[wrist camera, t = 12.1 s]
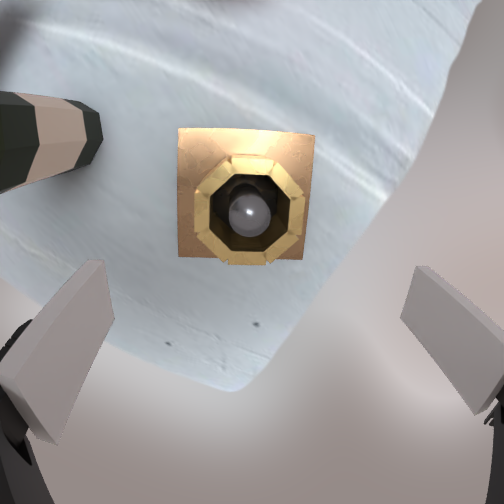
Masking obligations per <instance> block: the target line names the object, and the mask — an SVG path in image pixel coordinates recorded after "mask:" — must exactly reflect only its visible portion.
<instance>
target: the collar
mask: <svg viewBox="0 0 504 504" xmlns="http://www.w3.org/2000/svg"><path fill="white" fill-rule="evenodd" d="M234 174H255V175H268V177H269V178H270V179H271V180H272V181H273V182H274V183H275V184H276V186H277V187H278V199H277V212H276V214H275V215H274V216H273V217H272V218H271V219H270V223H269V226H268V227H267V229H266V230H265V231H264V232H263V233H261V234H259V235H257V236H254V237H245V236H242V235H239V234H238V233H236V232H235V231H234V230H231V229H230V228H229V227H228V226H227V225H226V224H225V223H224V222H223V221H222V220H221V219H220V218H219V217H218V216H217V215H216V214H215V213H214V212H213V193H214V192H215V191H216V190H217V189H218V188H220V187H221V186H222V185H223V184H224V183H225V182H226V181H227V180H228V179H229V178H230V177H232V176H233V175H234ZM303 193H304V192H303V191H302V190H301V189H300V187H299V186H298V185H297V184H296V183H295V181H294V180H293V179H292V178H291V177H290V176H289V174H288V173H287V172H286V171H285V170H284V169H283V168H282V166H281V165H280V164H279V163H278V162H276V161H274V160H272V159H270V158H267V157H265V156H253V155H231V160H230V158H229V157H228V156H227V157H226V158H224V159H223V160H222V161H221V162H220V163H219V164H218V165H217V166H216V167H215V168H214V169H213V170H211V171H210V172H209V173H208V174H207V175H206V176H205V177H204V178H203V179H202V181H201V182H200V184H199V185H198V187H197V190H196V191H195V193H194V232H198V233H197V236H196V237H197V238H198V239H199V240H200V241H202V242H203V243H204V244H205V245H206V246H207V247H208V248H209V249H210V250H211V251H212V252H213V253H214V254H215V255H216V256H217V257H218V258H219V259H220V260H221V261H222V262H223V263H224V262H225V261H226V260H227V259H228V264H229V265H266V260H267V261H268V262H269V263H272V262H273V261H274V260H275V259H276V258H278V257H279V256H280V255H281V254H282V253H283V252H285V251H286V250H287V249H288V248H289V247H291V246H292V245H293V244H294V243H295V242H296V241H298V240H299V238H298V237H297V236H296V235H301V234H302V225H303V216H304V206H305V197H304V196H303V195H302V194H303Z"/></svg>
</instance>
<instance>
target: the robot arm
mask: <svg viewBox="0 0 504 504" xmlns="http://www.w3.org/2000/svg"><path fill="white" fill-rule="evenodd" d="M400 318H401V320H402V321H403V322H404V323H405V324H406V326H407V327H408V328H409V329H410V331H411V332H412V333H413V334H414V335H415V336H416V338H417V339H418V340H419V342H420V343H421V344H422V345H423V347H424V348H425V349H426V350H427V352H428V353H429V354H430V356H431V357H432V358H433V359H434V361H435V362H436V363H437V365H438V366H439V367H440V368H441V370H442V371H443V372H444V374H445V375H446V376H447V378H448V379H449V380H450V382H451V383H452V384H453V386H454V387H455V389H456V390H457V391H458V393H459V394H460V395H461V397H462V398H463V400H464V401H465V403H466V404H467V405H468V407H469V408H470V410H471V411H472V412H473V414H474V415H477V414H479V413H481V412H483V411H485V410H487V408H488V407H489V406H490V404H491V403H492V402H493V400H494V399H495V397H496V398H497V400H498V401H499V402H498V403H497V405H496V406H495V407H494V409H493V410H492V411H491V413H490V414H489V415H488V416H487V418H486V419H485V421H484V424H486V423H487V422H488V421H489V420H490V419H491V418H493V420H492V421H491V422H490V423H489V425H490V426H494V438H493V454H492V464H491V474H490V481H489V487H488V493H487V498H486V503H485V504H504V330H503V329H502V328H501V327H500V326H499V325H497V324H496V323H495V322H494V321H493V320H492V319H491V318H490V317H489V316H487V315H486V314H485V313H484V312H483V311H482V310H481V309H479V308H478V307H477V306H476V305H475V304H474V303H473V302H472V301H470V300H469V299H468V298H467V297H466V296H465V295H463V294H462V293H461V292H460V291H459V290H457V289H456V288H455V287H454V286H452V285H451V284H450V283H449V282H447V281H446V280H445V279H444V278H442V277H441V276H440V275H439V274H437V273H436V272H435V271H434V270H432V269H431V268H430V267H428V266H416V267H415V271H414V274H413V278H412V281H411V285H410V288H409V292H408V295H407V298H406V301H405V304H404V307H403V310H402V313H401V316H400ZM114 319H115V318H114V313H113V309H112V303H111V298H110V293H109V287H108V282H107V275H106V269H105V262H104V260H87V261H86V262H85V263H84V264H83V265H82V266H81V267H80V268H79V269H78V270H77V271H76V272H75V273H74V274H73V275H72V276H71V278H70V279H69V280H68V281H67V282H66V283H65V284H64V285H63V286H62V287H61V288H60V289H59V291H58V292H57V293H56V294H55V295H54V296H53V297H52V298H51V299H50V301H49V302H48V303H47V304H46V305H45V306H44V307H43V309H42V310H41V311H40V312H39V314H38V315H37V316H36V317H35V318H34V319H33V320H32V319H30V320H28V321H27V322H26V323H24V324H23V325H21V326H20V327H19V328H18V329H17V330H16V331H15V332H14V334H13V335H12V336H11V339H9V340H8V341H7V343H6V344H5V347H2V349H1V350H0V504H54V502H53V499H52V497H51V495H50V493H49V491H48V489H47V486H46V484H45V482H44V479H43V477H42V475H41V472H40V470H39V467H38V464H37V462H36V459H35V456H34V453H33V450H32V447H31V445H30V442H29V440H28V438H27V436H26V435H25V434H26V432H27V430H28V428H30V430H31V431H32V432H33V433H34V435H35V436H36V437H37V438H38V439H40V440H43V441H46V442H48V443H52V444H55V445H58V443H59V440H60V438H61V435H62V433H63V430H64V428H65V425H66V423H67V420H68V418H69V415H70V413H71V410H72V408H73V406H74V403H75V401H76V399H77V396H78V394H79V392H80V389H81V387H82V385H83V383H84V381H85V378H86V376H87V374H88V372H89V370H90V368H91V365H92V363H93V361H94V359H95V357H96V355H97V353H98V351H99V349H100V347H101V345H102V343H103V341H104V339H105V337H106V335H107V333H108V331H109V329H110V327H111V325H112V323H113V321H114Z"/></svg>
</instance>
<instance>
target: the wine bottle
mask: <svg viewBox="0 0 504 504" xmlns="http://www.w3.org/2000/svg"><path fill="white" fill-rule="evenodd" d="M102 141H103V135H102V129H101V123H100V117H99V113H98V112H96V111H95V110H93V109H91V108H90V107H88V106H86V105H84V104H83V103H81V102H78V101H73V100H67V99H61V98H54V97H48V96H41V95H33V94H25V93H15V92H5V91H0V194H2V193H5V192H7V191H10V190H13V189H16V188H18V187H21V186H24V185H27V184H30V183H33V182H36V181H39V180H42V179H46V178H49V177H52V176H55V175H59V174H62V173H66V172H69V171H72V170H74V169H77V168H80V167H83V166H86V165H89V164H91V162H92V160H93V158H94V156H95V154H96V152H97V150H98V148H99V146H100V144H101V143H102Z"/></svg>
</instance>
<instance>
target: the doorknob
mask: <svg viewBox="0 0 504 504" xmlns="http://www.w3.org/2000/svg"><path fill="white" fill-rule="evenodd" d="M314 143H315V135H308V134H299V133H289V132H278V131H266V130H250V129H227V128H179V133H178V169H177V217H178V254H179V257H206V258H218V257H217V256H216V255H215V254H214V253H213V252H212V251H211V250H210V249H209V248H208V247H207V246H206V245H205V244H204V243H203V242H202V241H200V240H199V239H198V238H197V237H196V236H197V233H198V232H194V193H195V191H196V190H197V187H198V185H199V184H200V182H201V181H202V179H203V178H204V177H205V176H206V175H207V174H208V173H209V172H210V171H211V170H213V169H214V168H215V167H216V166H217V165H218V164H219V163H220V162H221V161H222V160H223V159H224V158H226V157H227V156H228V157H229V158H230V160H231V155H253V156H265V157H267V158H270V159H272V160H274V161H276V162H278V163H279V164H280V165H281V166H282V168H283V169H284V170H285V171H286V172H287V173H288V174H289V176H290V177H291V178H292V179H293V180H294V181H295V183H296V184H297V185H298V186H299V187H300V189H301V190H302V191H303V192H304V193H303V194H302V195H303V196H304V197H305V206H304V216H303V225H302V234H301V235H296V236H297V237H298V238H299V240H298V241H296V242H295V243H294V244H293V245H292V246H291V247H289V248H288V249H287V250H286V251H285V252H283V253H282V254H281V255H280V256H279V257H278V258H276V259H293V260H302V258H303V250H304V242H305V234H306V225H307V217H308V208H309V198H310V188H311V178H312V167H313V155H314ZM277 199H278V187H277V186H276V184H275V183H274V182H273V181H272V180H271V179H270V178H269V177H268V175H255V174H234V175H233V176H232V177H230V178H229V179H228V180H227V181H226V182H225V183H224V184H223V185H222V186H221V187H220V188H218V189H217V190H216V191H215V192H214V193H213V212H214V213H215V214H216V215H217V216H218V217H219V218H220V219H221V220H222V221H223V222H224V223H225V224H226V225H227V226H228V227H229V228H230V229H231V230H234V231H235V232H236V233H238V234H239V235H242V236H245V237H254V236H257V235H259V234H261V233H263V232H264V231H265V230H266V229H267V227H268V226H269V223H270V219H271V218H272V217H273V216H274V215H275V214H276V212H277Z"/></svg>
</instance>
